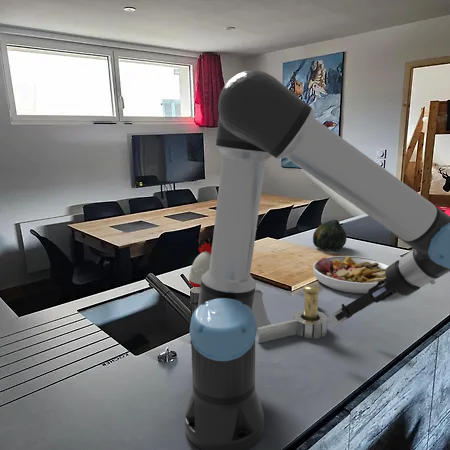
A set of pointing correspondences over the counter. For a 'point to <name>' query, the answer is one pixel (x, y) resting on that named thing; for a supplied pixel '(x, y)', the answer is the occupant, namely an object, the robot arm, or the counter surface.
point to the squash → (330, 236)
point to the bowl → (350, 273)
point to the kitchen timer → (200, 265)
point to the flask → (259, 310)
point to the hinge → (294, 328)
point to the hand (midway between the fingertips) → (344, 313)
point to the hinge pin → (311, 302)
